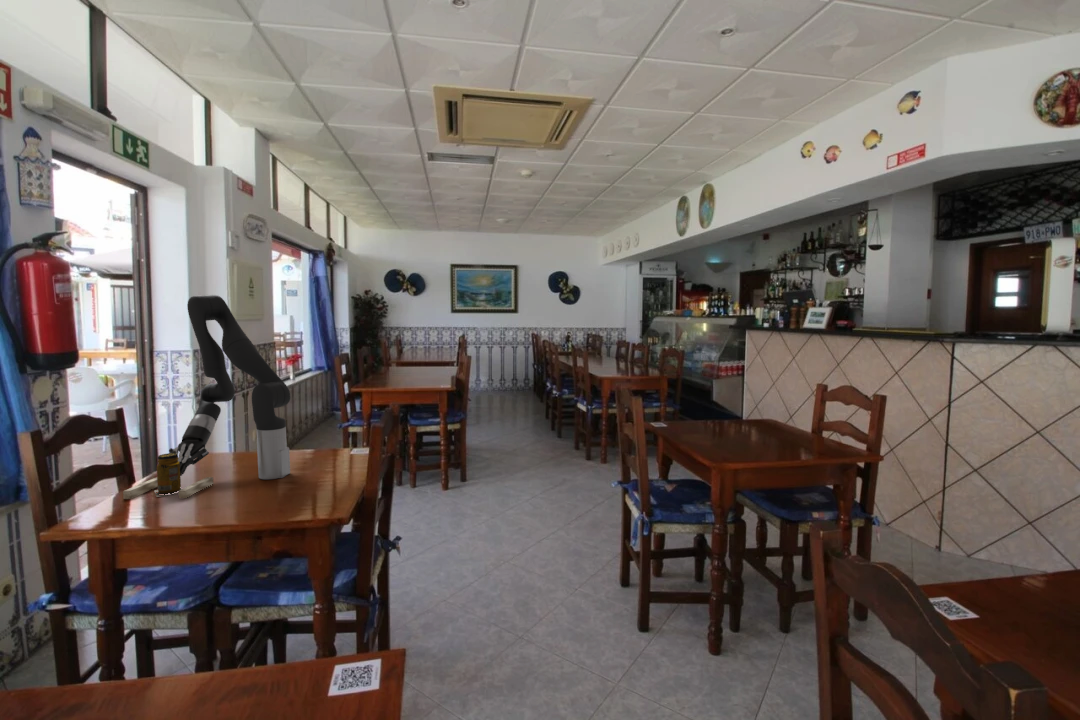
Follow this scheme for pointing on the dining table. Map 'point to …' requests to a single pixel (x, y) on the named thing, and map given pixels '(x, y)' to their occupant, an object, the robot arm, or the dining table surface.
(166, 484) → the condiment
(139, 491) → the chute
